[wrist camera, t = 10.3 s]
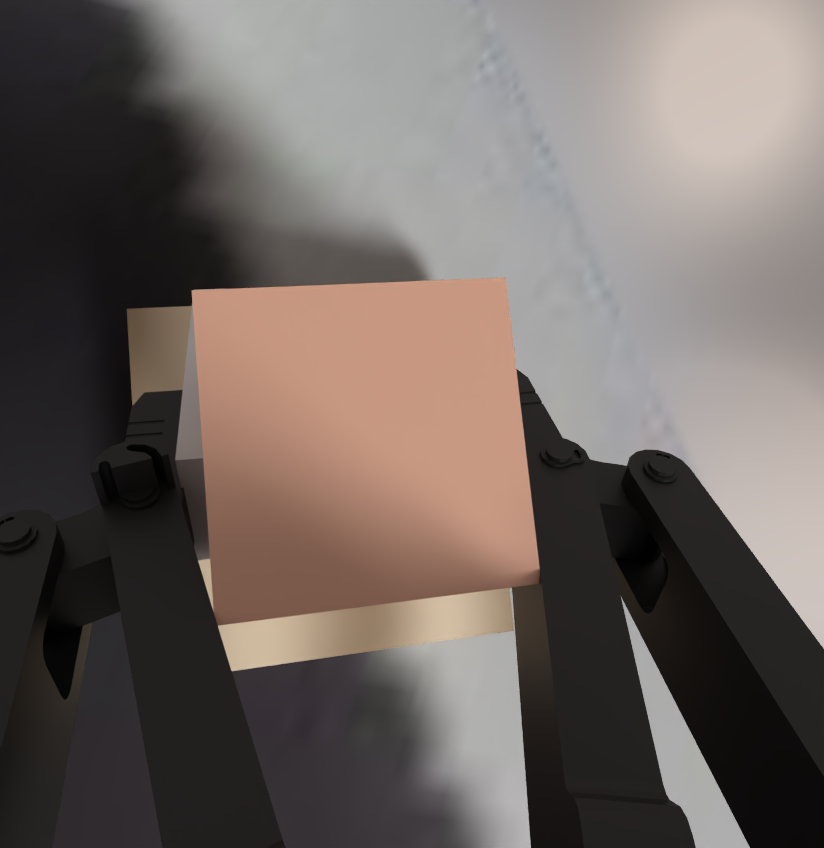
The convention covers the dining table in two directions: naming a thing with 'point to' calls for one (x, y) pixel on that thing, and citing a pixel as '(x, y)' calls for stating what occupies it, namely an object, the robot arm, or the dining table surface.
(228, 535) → the block
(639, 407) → the dining table surface
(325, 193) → the dining table surface
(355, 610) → the plinth
